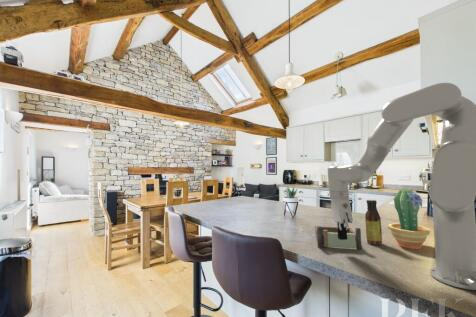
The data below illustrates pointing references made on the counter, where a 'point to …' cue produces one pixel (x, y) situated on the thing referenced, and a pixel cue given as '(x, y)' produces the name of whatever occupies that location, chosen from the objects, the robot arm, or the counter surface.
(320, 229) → the pen fence
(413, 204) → the potted cactus
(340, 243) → the gate
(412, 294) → the counter surface
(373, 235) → the sauce bottle
